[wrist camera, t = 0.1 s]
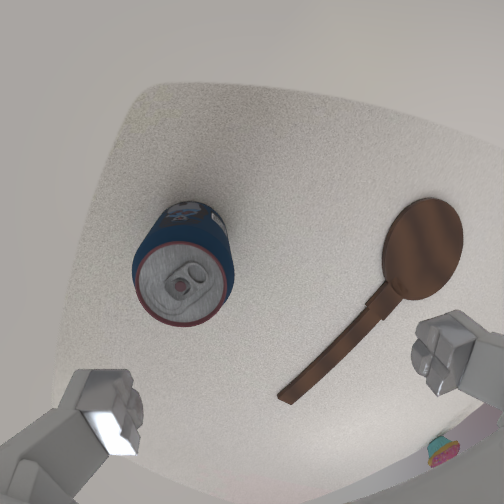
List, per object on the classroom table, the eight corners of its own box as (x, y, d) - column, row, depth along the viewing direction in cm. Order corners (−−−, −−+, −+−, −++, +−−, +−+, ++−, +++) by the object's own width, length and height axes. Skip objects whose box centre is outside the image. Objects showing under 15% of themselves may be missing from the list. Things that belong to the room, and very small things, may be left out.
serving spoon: (428, 175, 31) (432, 176, 30) (471, 242, 35) (475, 243, 34) (246, 379, 37) (247, 384, 36) (314, 412, 40) (316, 416, 40)
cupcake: (416, 450, 52) (438, 486, 40) (445, 426, 50) (470, 461, 39) (427, 456, 54) (447, 488, 43) (453, 434, 53) (476, 465, 42)
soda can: (185, 280, 31) (176, 352, 20) (141, 228, 29) (103, 278, 18) (240, 240, 31) (259, 295, 19) (196, 184, 28) (188, 208, 17)
